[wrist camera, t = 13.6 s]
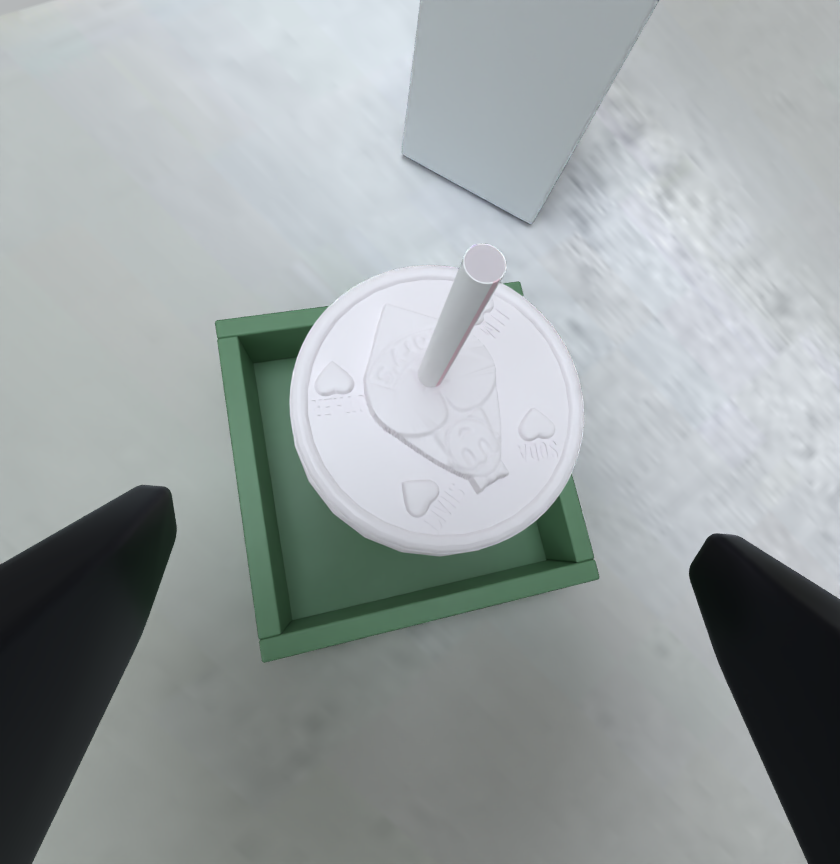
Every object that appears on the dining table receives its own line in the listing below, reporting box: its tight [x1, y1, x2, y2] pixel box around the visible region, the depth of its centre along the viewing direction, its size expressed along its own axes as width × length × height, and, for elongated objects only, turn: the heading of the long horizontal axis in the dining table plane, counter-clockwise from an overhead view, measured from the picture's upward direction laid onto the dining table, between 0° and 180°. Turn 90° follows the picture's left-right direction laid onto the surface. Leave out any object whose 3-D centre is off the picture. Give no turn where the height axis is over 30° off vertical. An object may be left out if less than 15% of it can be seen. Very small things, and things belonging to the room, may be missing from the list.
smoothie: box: [289, 243, 584, 557], centre depth 13 cm, size 6×6×14 cm
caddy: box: [215, 282, 599, 662], centre depth 18 cm, size 11×11×3 cm
